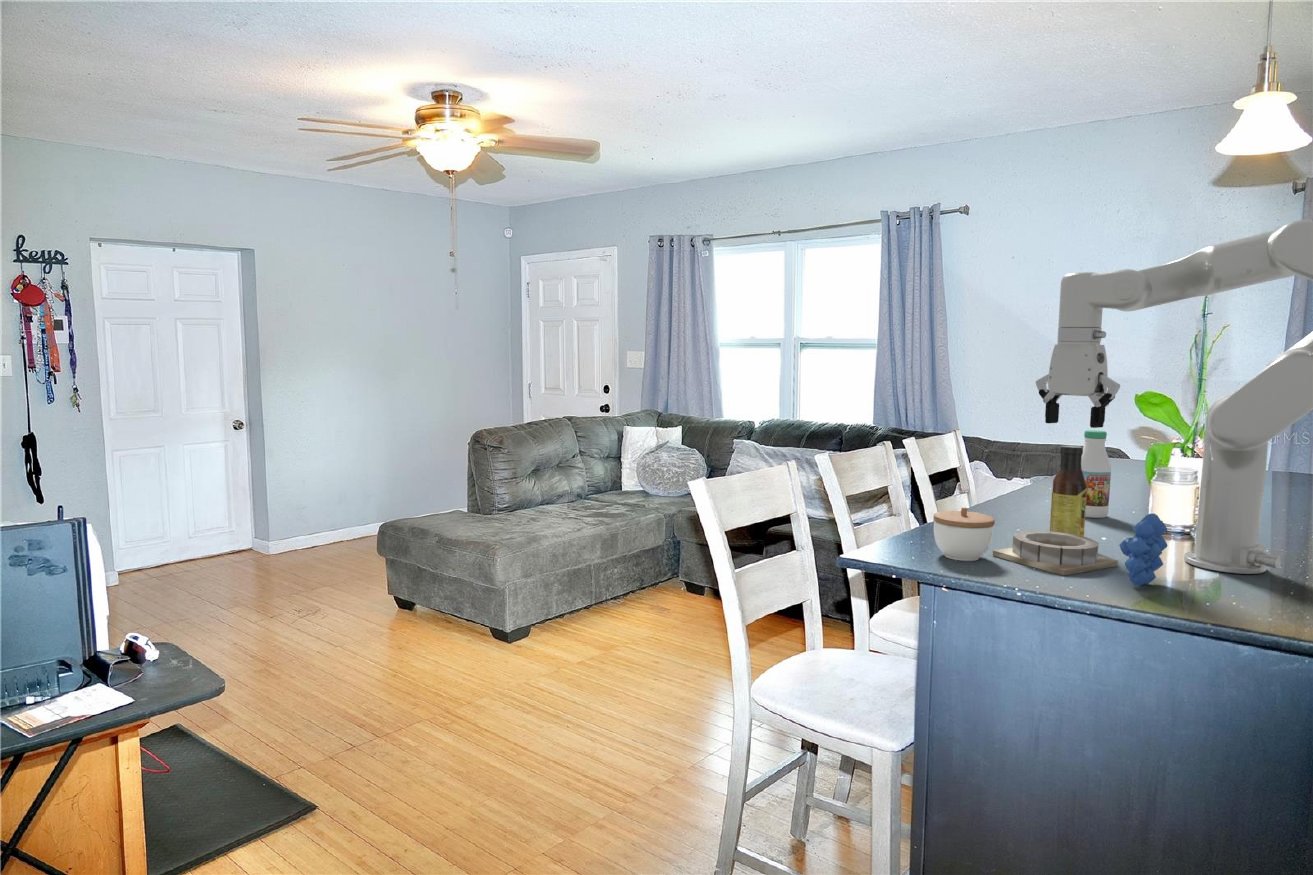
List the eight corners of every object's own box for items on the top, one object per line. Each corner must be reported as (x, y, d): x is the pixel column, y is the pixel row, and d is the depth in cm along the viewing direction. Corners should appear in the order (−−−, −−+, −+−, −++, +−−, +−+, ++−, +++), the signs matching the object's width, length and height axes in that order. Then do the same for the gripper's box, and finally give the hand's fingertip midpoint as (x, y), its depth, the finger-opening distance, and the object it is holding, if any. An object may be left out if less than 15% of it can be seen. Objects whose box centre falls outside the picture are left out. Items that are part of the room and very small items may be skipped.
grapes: (1130, 573, 150) (1136, 506, 149) (1172, 581, 145) (1178, 512, 144) (1101, 584, 143) (1107, 514, 141) (1145, 594, 138) (1151, 521, 136)
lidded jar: (961, 547, 167) (964, 500, 165) (1005, 561, 157) (1008, 511, 156) (919, 552, 162) (921, 504, 161) (961, 567, 152) (964, 515, 151)
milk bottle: (1063, 512, 203) (1069, 429, 200) (1089, 511, 205) (1095, 428, 203) (1088, 519, 195) (1095, 432, 193) (1115, 517, 198) (1122, 432, 195)
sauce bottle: (1087, 550, 166) (1095, 449, 164) (1052, 548, 167) (1060, 447, 165) (1077, 542, 173) (1085, 445, 170) (1044, 540, 174) (1051, 443, 172)
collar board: (1117, 565, 155) (1119, 544, 154) (1063, 575, 148) (1065, 553, 147) (1045, 547, 168) (1046, 527, 167) (992, 555, 161) (993, 534, 160)
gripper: (1133, 337, 160) (1127, 428, 161) (1052, 337, 175) (1047, 420, 176) (1109, 337, 156) (1103, 430, 158) (1027, 337, 171) (1023, 422, 173)
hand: (1073, 425), depth 167 cm, fingers open, 9 cm apart
